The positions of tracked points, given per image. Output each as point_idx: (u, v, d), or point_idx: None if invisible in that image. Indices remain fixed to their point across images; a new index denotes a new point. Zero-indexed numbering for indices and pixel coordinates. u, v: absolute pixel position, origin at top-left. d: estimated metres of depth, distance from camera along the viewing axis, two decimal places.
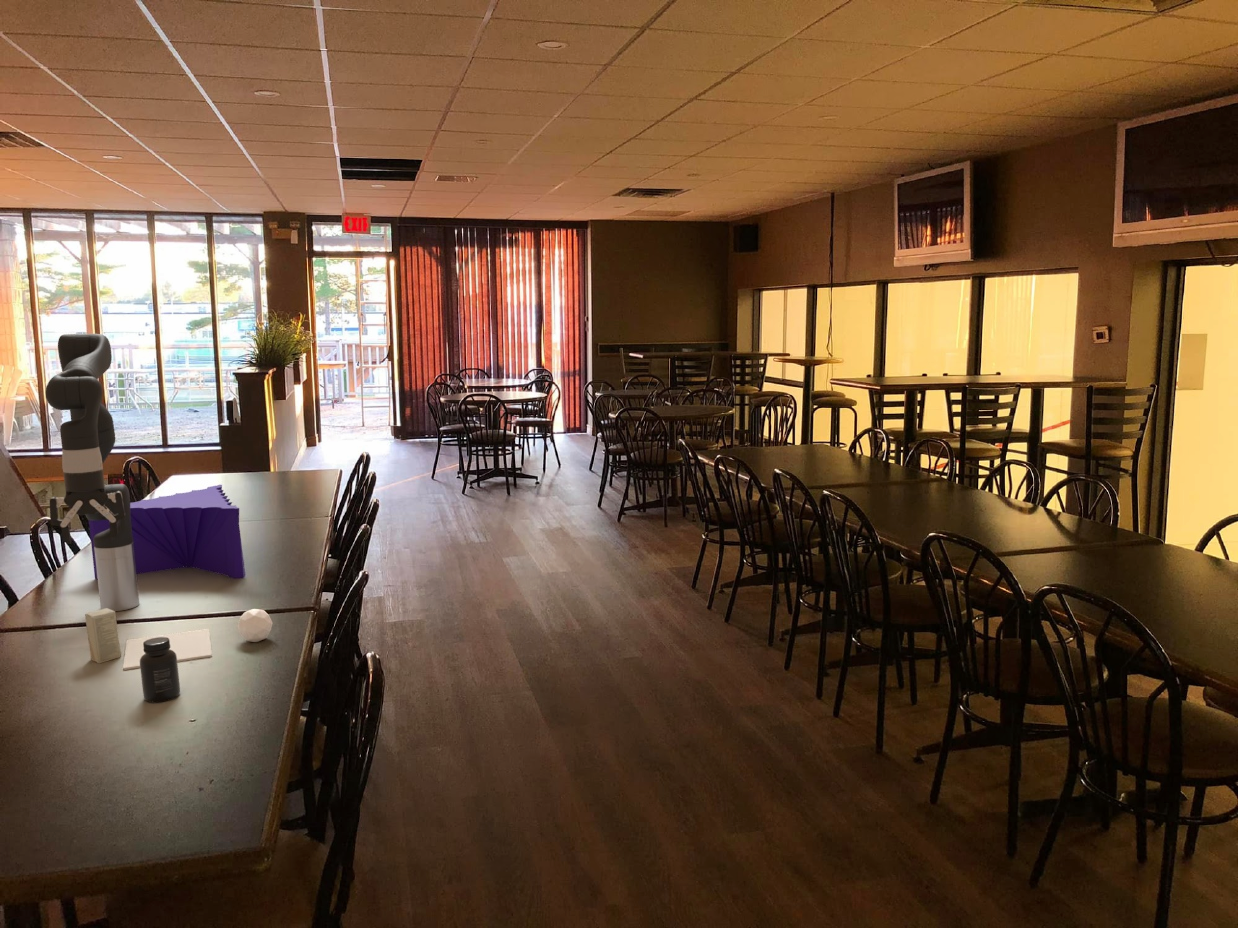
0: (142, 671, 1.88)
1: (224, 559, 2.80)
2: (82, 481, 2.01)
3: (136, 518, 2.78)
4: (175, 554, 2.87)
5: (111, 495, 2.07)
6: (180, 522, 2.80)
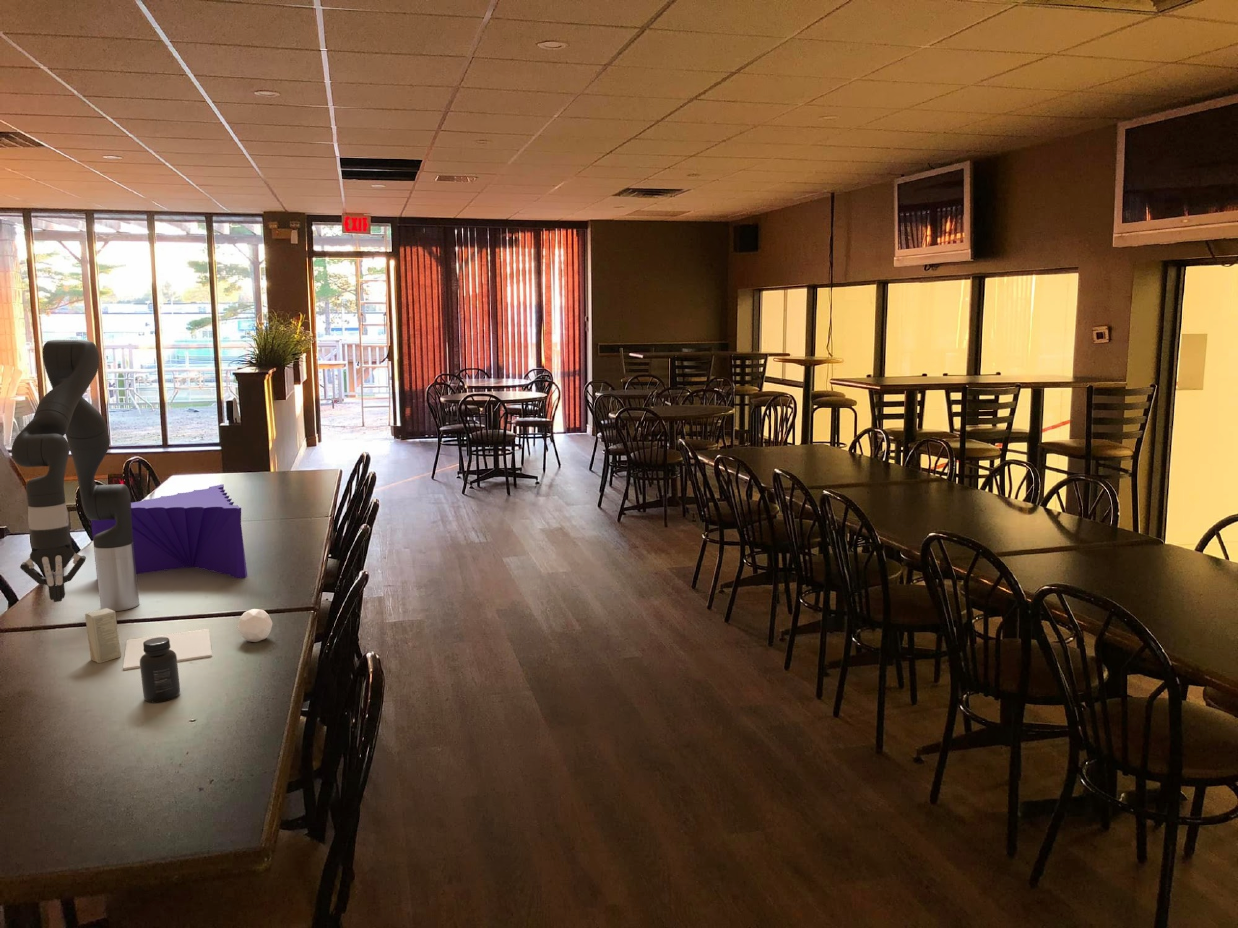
0: (142, 671, 1.88)
1: (226, 559, 2.81)
2: (47, 537, 2.02)
3: (138, 518, 2.79)
4: (177, 554, 2.88)
5: (76, 556, 2.08)
6: (182, 522, 2.80)
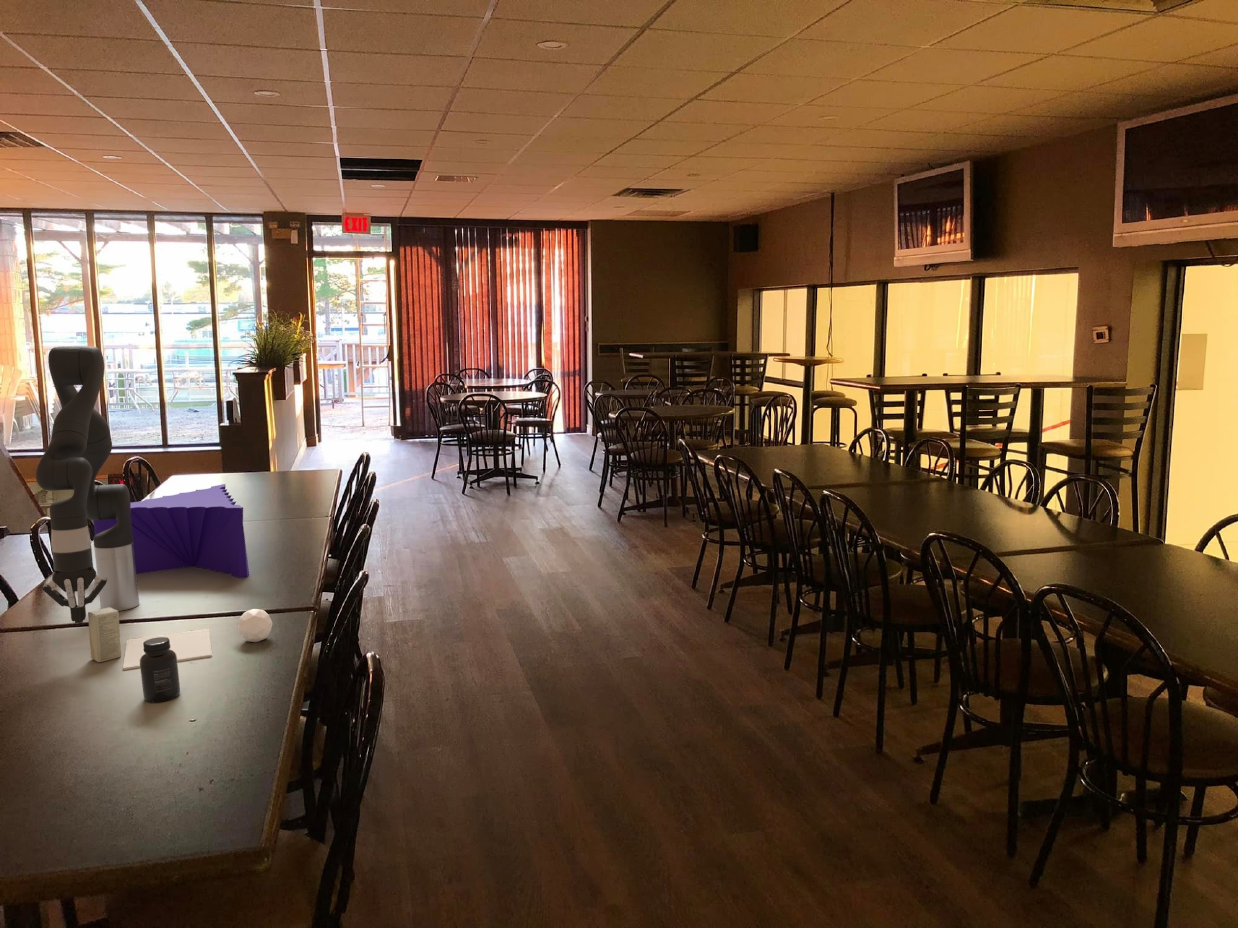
0: (142, 671, 1.88)
1: (228, 558, 2.81)
2: (70, 560, 2.05)
3: (140, 517, 2.79)
4: (179, 553, 2.88)
5: (98, 578, 2.10)
6: (184, 522, 2.81)
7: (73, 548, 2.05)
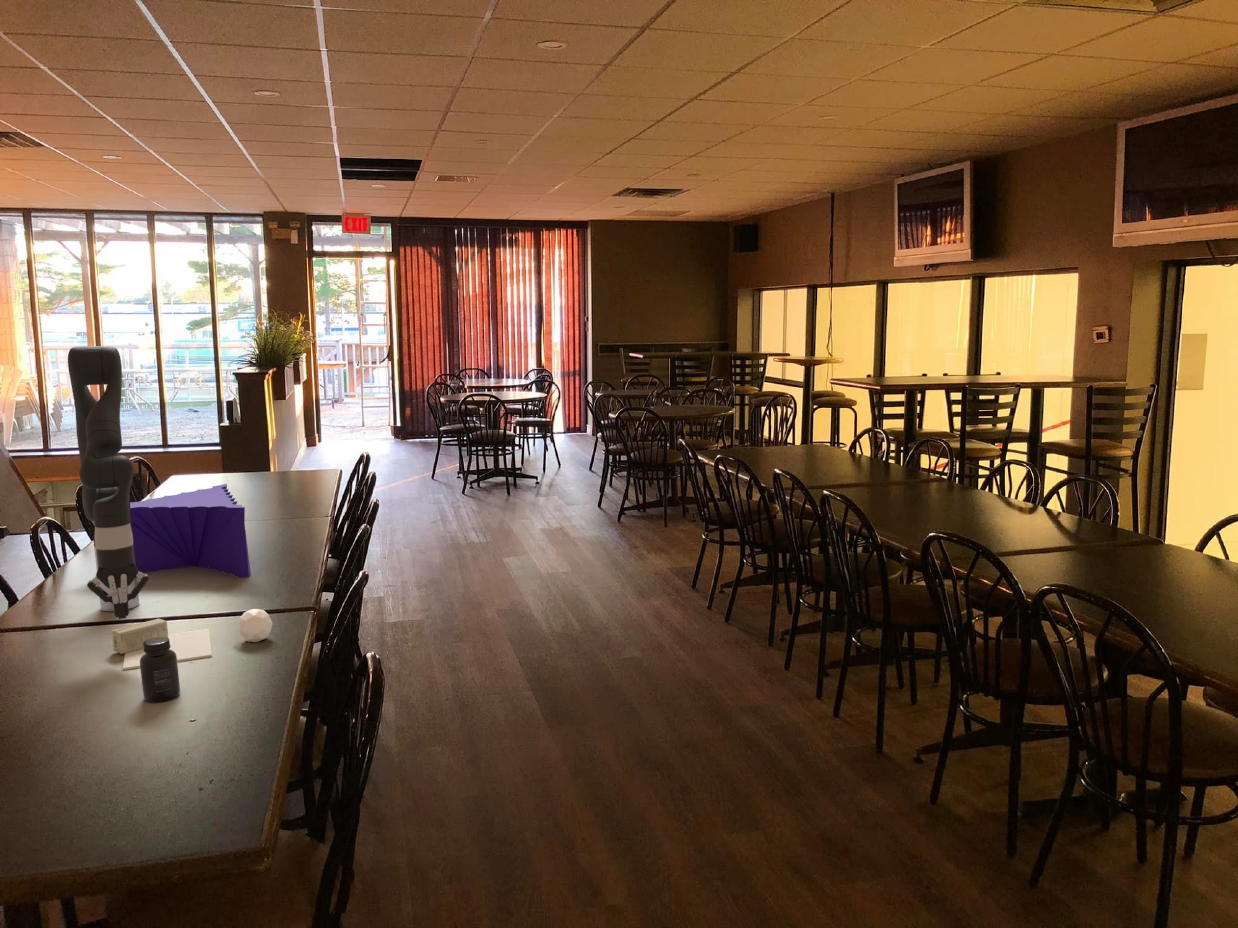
0: (142, 671, 1.88)
1: (229, 558, 2.82)
2: (114, 557, 2.08)
3: (142, 517, 2.79)
4: (181, 553, 2.88)
5: (140, 574, 2.14)
6: (185, 521, 2.81)
7: (117, 545, 2.08)
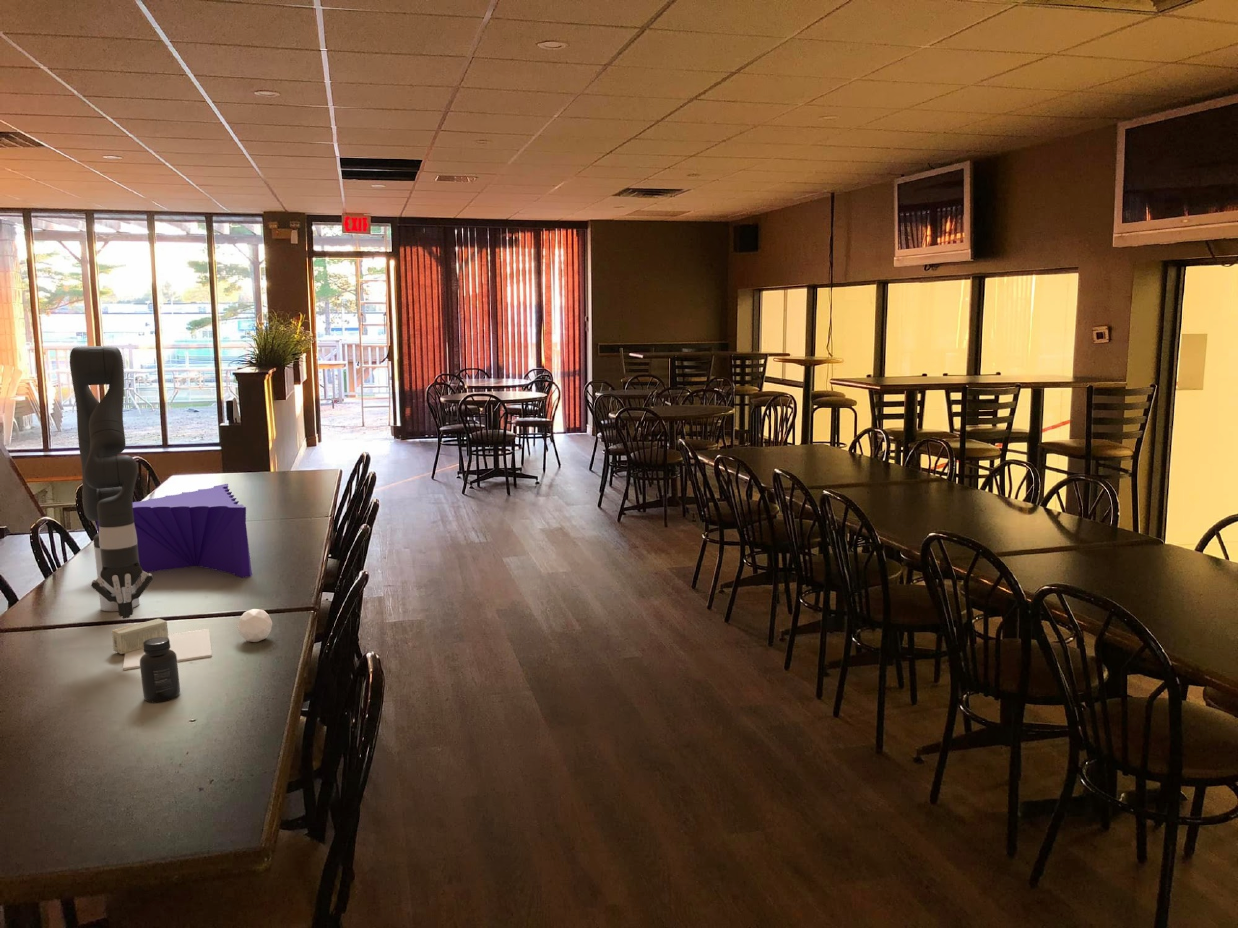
0: (142, 671, 1.88)
1: (231, 558, 2.82)
2: (118, 557, 2.09)
3: (143, 517, 2.80)
4: (182, 553, 2.89)
5: (144, 574, 2.14)
6: (187, 521, 2.81)
7: (121, 545, 2.08)
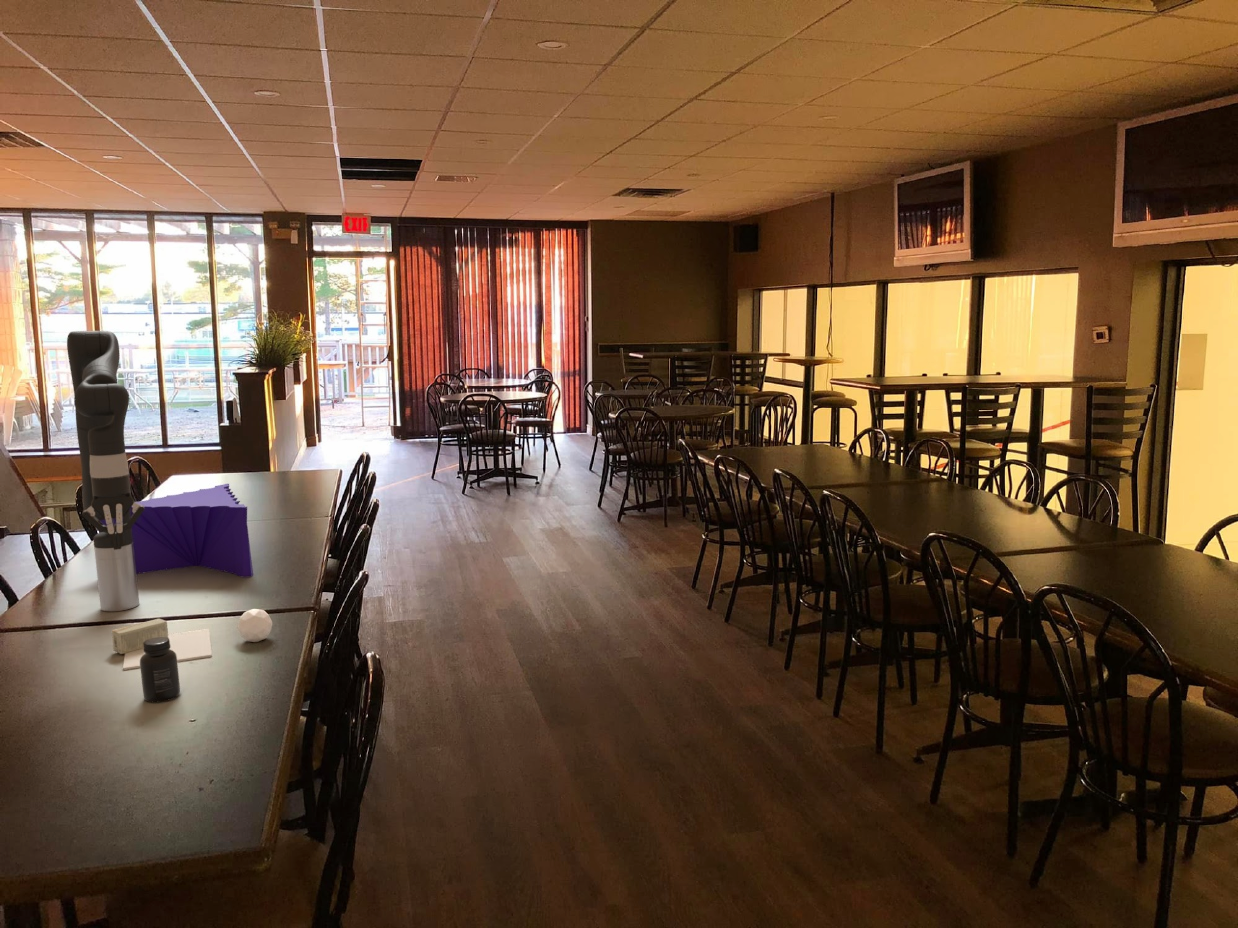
0: (142, 671, 1.88)
1: (232, 557, 2.82)
2: (109, 486, 2.06)
3: (145, 517, 2.80)
4: (183, 552, 2.89)
5: (135, 505, 2.12)
6: (188, 521, 2.82)
7: (112, 473, 2.06)
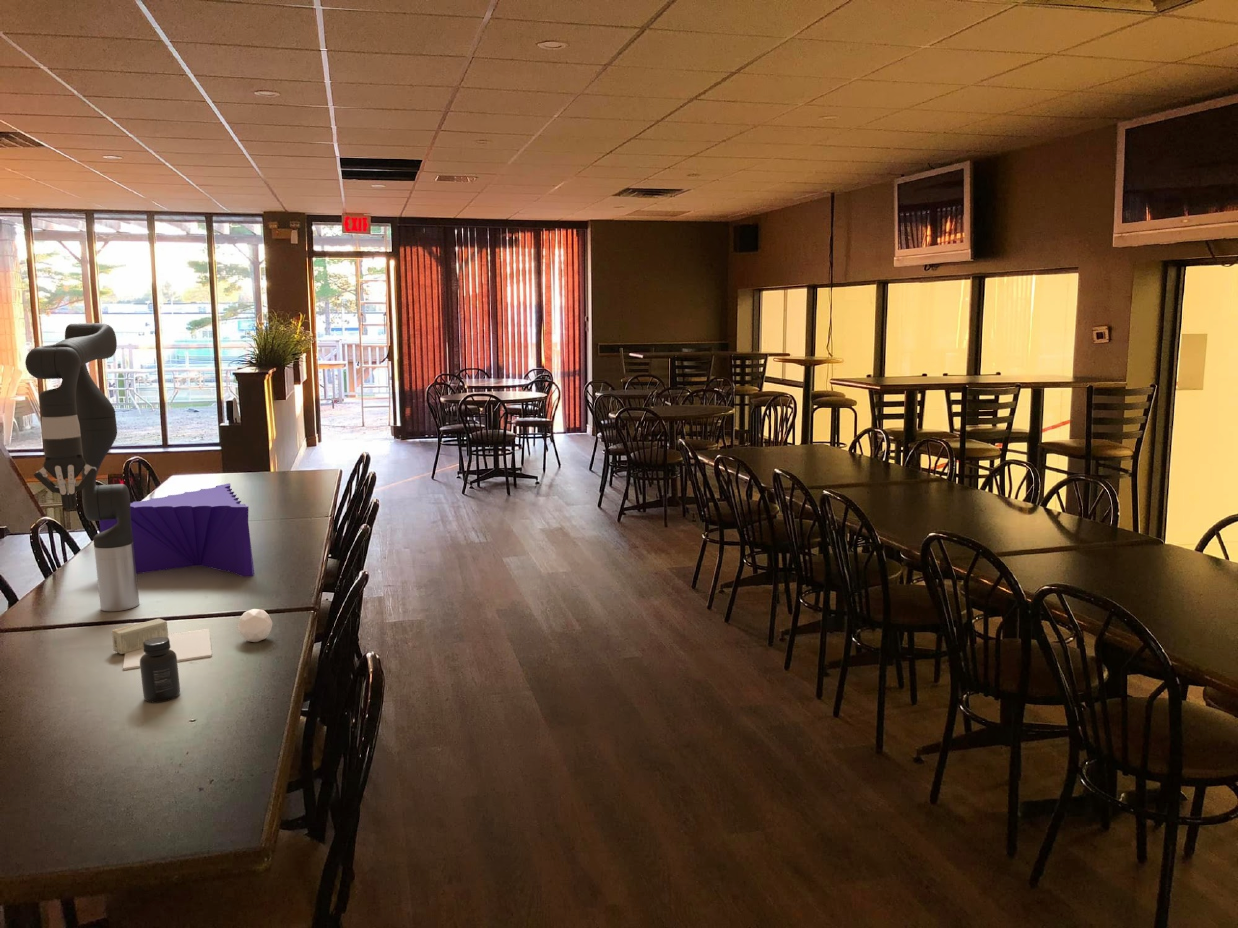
0: (142, 671, 1.88)
1: (233, 557, 2.82)
2: (60, 447, 2.11)
3: (146, 516, 2.80)
4: (184, 552, 2.89)
5: (87, 467, 2.17)
6: (189, 521, 2.82)
7: (63, 435, 2.11)
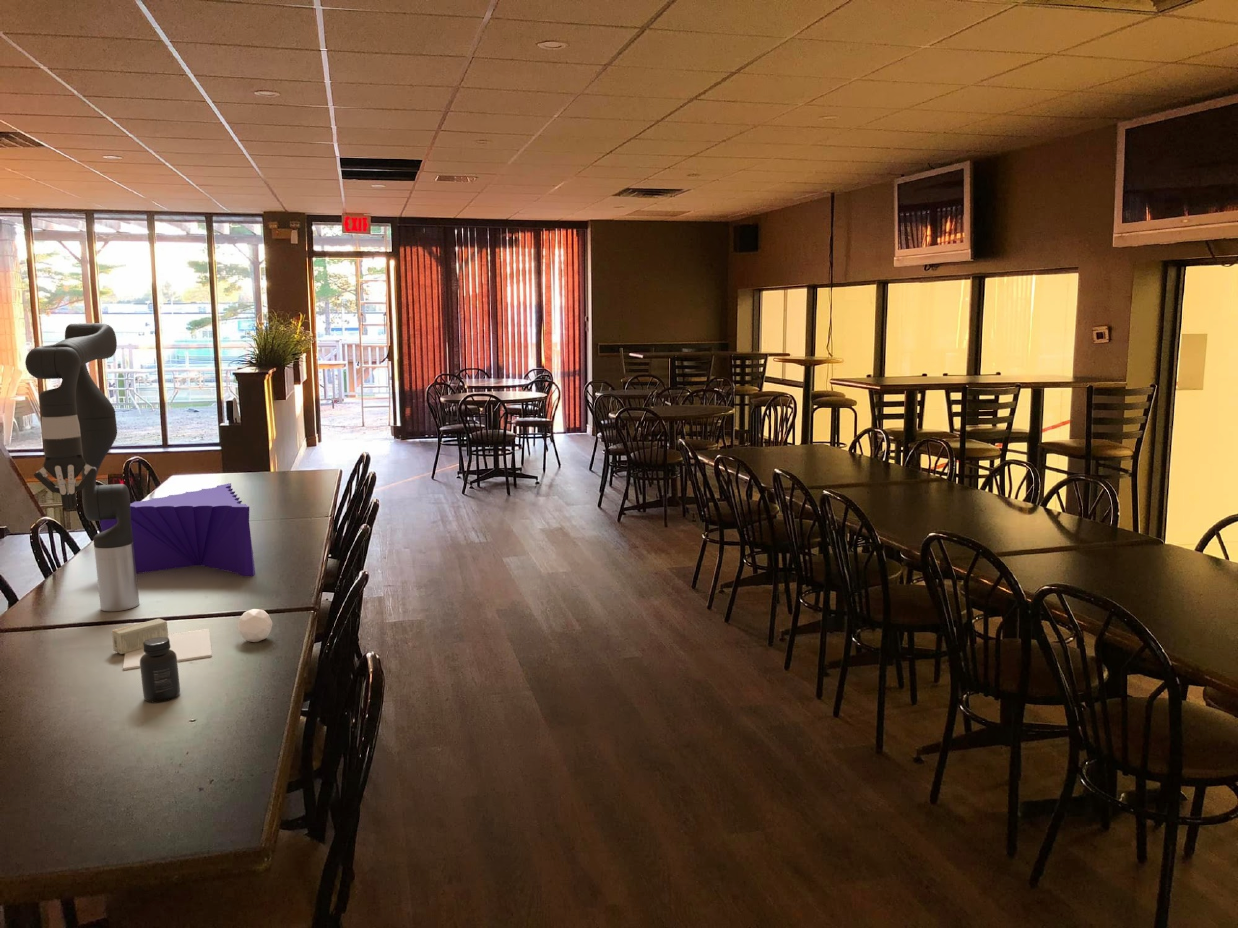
0: (142, 671, 1.88)
1: (234, 557, 2.83)
2: (60, 447, 2.11)
3: (147, 516, 2.80)
4: (185, 552, 2.89)
5: (87, 467, 2.17)
6: (190, 521, 2.82)
7: (63, 435, 2.11)
